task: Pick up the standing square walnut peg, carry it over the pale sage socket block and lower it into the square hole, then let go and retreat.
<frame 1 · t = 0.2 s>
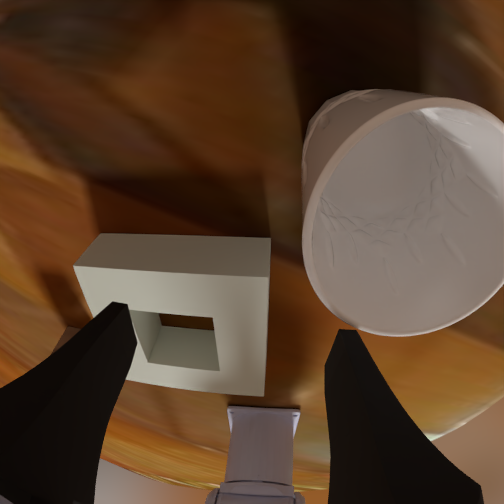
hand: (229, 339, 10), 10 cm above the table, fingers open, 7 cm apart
white cup: (361, 147, 16), on the table
socket block: (189, 303, 23), on the table
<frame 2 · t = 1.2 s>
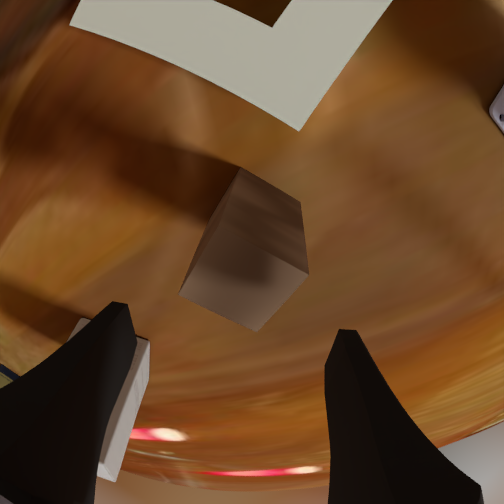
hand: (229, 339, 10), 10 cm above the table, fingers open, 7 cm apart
peg: (253, 211, 19), on the table
supplement box: (116, 349, 28), on the table
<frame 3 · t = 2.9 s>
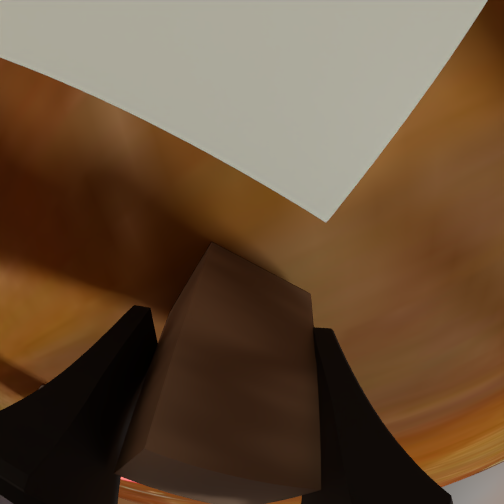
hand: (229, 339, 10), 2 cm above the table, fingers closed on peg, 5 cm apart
peg: (235, 304, 12), on the table, touching gripper
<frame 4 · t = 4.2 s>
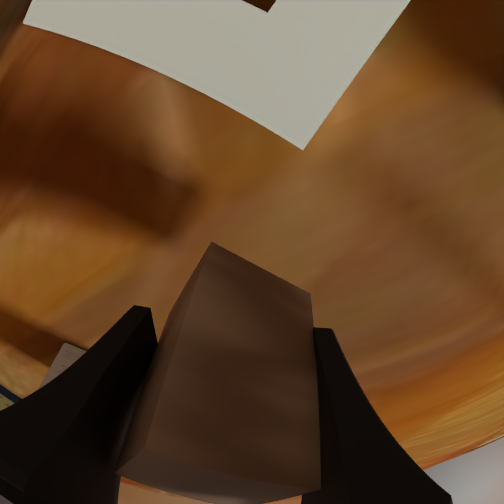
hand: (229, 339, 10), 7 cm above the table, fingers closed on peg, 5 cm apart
protein box: (21, 407, 38), on the table
peg: (235, 304, 12), point 5 cm above the table, touching gripper
supplement box: (103, 374, 25), on the table
when the fingers open (4 cm above the table, at t = 8.7 s): peg drops 3 cm, resting in socket block.
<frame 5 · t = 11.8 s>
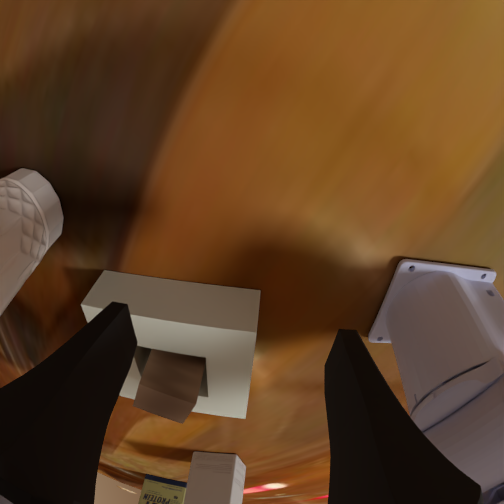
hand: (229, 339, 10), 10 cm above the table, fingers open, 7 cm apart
protein box: (171, 484, 61), on the table
white cup: (34, 206, 20), on the table
peg: (183, 335, 25), resting in socket block
socket block: (182, 335, 25), on the table
supplement box: (220, 458, 43), on the table
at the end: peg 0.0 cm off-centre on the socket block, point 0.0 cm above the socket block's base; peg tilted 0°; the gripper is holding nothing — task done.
